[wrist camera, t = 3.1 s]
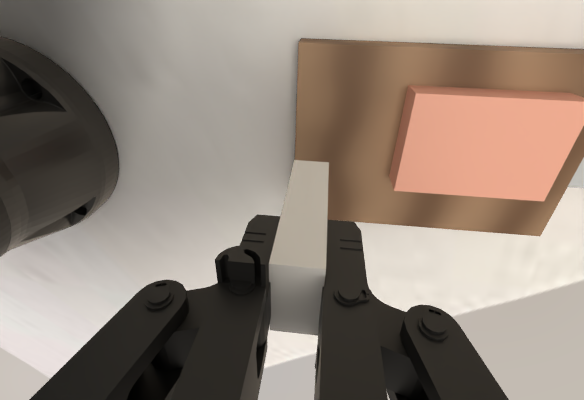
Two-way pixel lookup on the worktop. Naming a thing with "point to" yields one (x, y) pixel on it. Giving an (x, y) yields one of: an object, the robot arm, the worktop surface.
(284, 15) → the worktop surface
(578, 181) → the mat
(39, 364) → the worktop surface
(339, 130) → the deck
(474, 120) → the card
